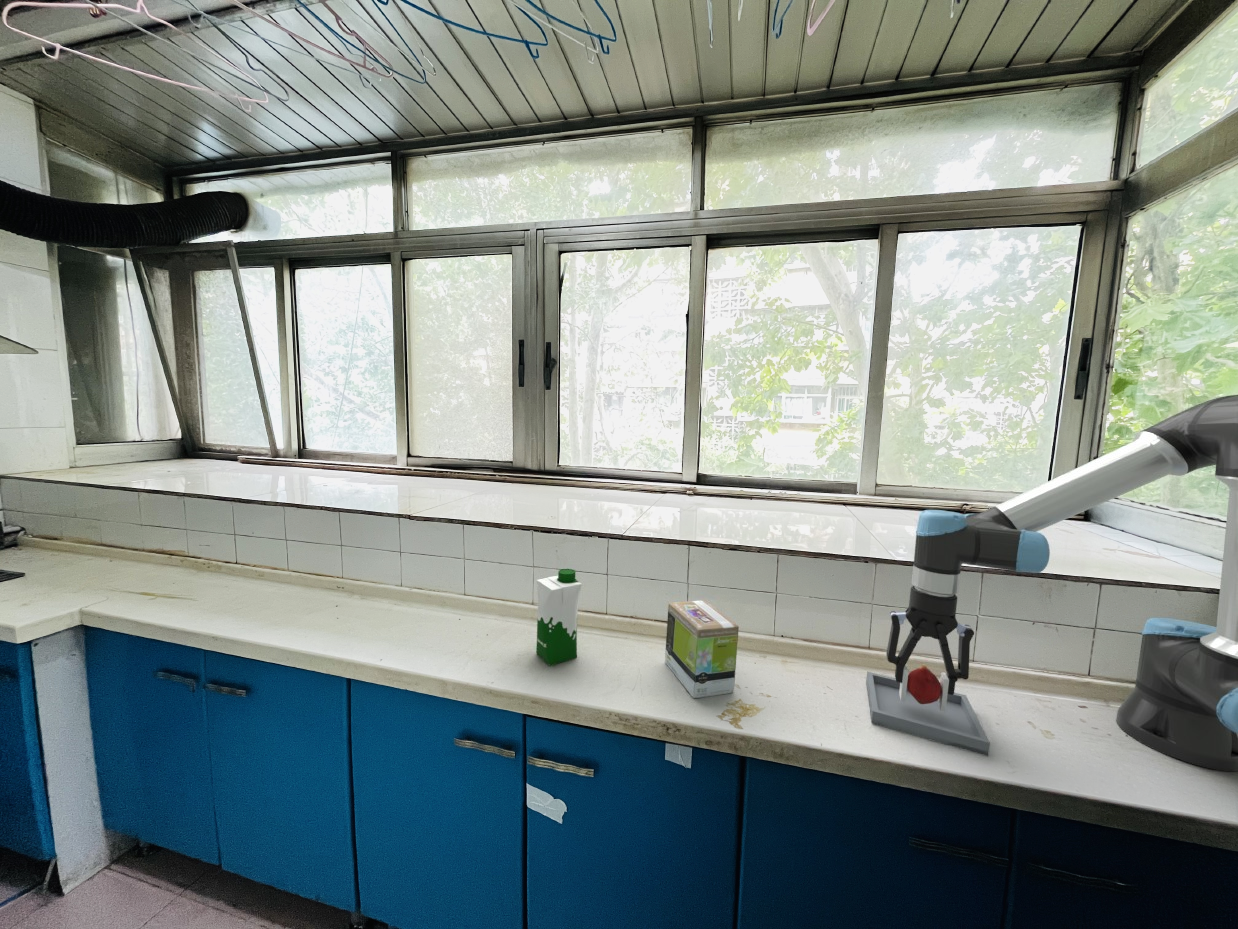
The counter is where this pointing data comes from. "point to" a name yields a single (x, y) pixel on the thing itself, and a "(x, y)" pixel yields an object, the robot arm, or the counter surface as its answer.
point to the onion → (924, 685)
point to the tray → (925, 716)
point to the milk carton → (557, 617)
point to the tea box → (701, 648)
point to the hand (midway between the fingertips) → (921, 702)
